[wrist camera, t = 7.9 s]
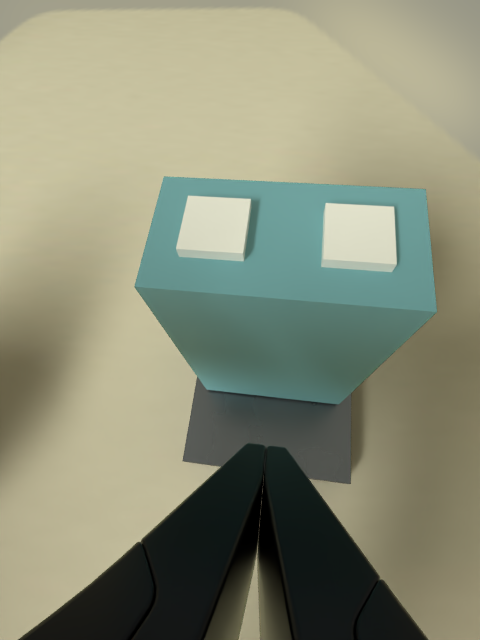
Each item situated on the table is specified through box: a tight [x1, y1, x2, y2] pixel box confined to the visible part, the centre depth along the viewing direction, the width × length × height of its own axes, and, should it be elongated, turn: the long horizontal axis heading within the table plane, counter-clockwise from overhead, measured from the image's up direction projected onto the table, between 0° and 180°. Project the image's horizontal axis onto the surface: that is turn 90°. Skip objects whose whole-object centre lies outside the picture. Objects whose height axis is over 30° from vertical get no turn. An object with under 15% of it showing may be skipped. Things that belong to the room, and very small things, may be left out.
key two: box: [134, 177, 437, 404], centre depth 12 cm, size 3×6×10 cm, turn 83°
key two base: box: [183, 377, 351, 484], centre depth 16 cm, size 8×7×4 cm
